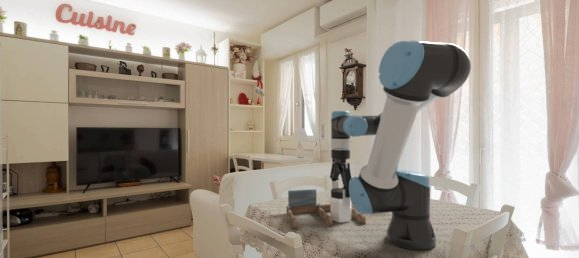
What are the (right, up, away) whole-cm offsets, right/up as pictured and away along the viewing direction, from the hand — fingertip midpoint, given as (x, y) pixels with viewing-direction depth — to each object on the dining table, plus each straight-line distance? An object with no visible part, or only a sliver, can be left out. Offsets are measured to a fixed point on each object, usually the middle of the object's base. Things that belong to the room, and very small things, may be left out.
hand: (340, 200), depth 120 cm
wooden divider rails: (-7, -8, 0) cm, 10 cm away
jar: (0, -8, 0) cm, 8 cm away
